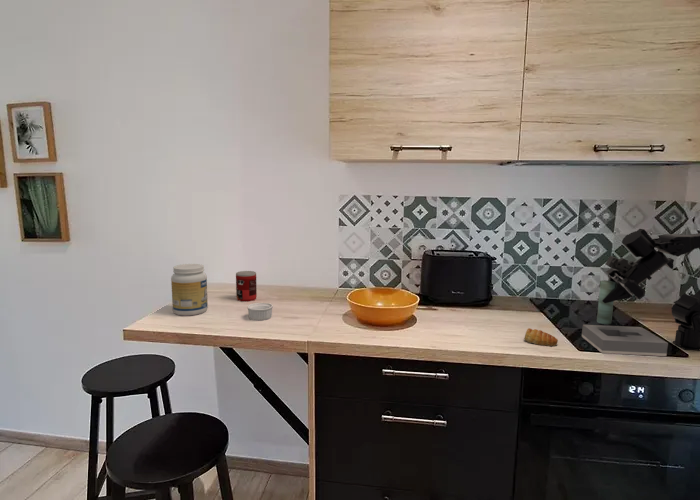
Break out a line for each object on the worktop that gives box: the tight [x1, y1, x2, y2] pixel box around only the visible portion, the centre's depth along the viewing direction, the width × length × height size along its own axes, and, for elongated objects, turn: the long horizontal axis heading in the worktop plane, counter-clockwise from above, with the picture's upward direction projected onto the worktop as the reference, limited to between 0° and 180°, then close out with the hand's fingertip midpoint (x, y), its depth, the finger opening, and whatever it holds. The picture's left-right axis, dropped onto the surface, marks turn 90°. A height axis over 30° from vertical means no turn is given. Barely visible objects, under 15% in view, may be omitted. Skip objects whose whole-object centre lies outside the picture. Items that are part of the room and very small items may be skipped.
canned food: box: [235, 270, 258, 303], centre depth 181 cm, size 8×8×11 cm
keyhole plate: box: [581, 324, 669, 357], centre depth 138 cm, size 18×14×4 cm
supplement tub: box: [170, 263, 209, 317], centre depth 163 cm, size 12×12×17 cm
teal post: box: [596, 280, 615, 325], centre depth 139 cm, size 4×4×13 cm
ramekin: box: [246, 302, 274, 322], centre depth 159 cm, size 9×9×4 cm
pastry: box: [523, 327, 559, 347], centre depth 140 cm, size 9×7×4 cm
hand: (601, 300), depth 140 cm, fingers closed on teal post, 4 cm apart
